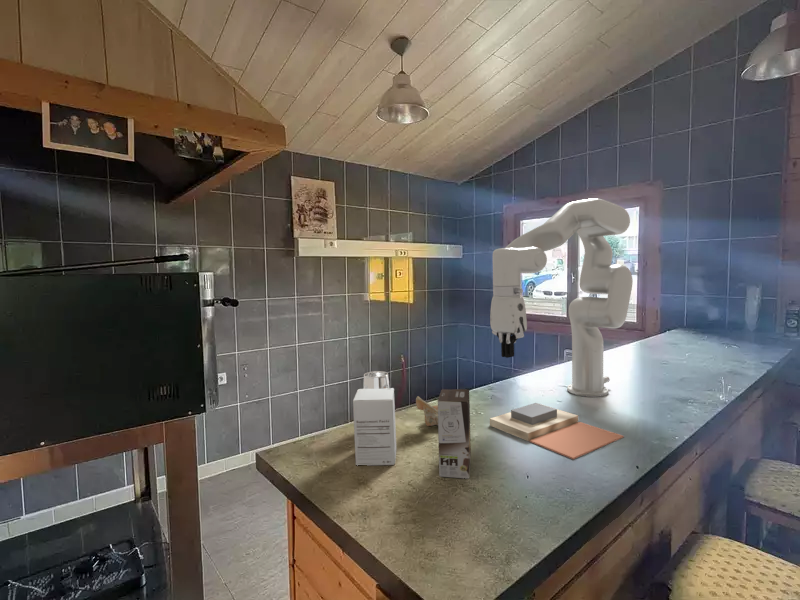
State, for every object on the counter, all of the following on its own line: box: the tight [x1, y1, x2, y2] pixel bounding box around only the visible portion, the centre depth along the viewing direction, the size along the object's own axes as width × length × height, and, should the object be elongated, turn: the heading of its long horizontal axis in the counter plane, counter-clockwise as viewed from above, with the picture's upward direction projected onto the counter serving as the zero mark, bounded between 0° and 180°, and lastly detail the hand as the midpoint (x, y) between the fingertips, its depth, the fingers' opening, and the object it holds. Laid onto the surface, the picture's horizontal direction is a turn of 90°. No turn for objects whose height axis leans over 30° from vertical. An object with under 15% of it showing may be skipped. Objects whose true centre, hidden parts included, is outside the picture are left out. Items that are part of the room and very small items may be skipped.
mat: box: [529, 421, 625, 460], centre depth 103 cm, size 20×12×1 cm, turn 123°
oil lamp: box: [415, 395, 438, 427], centre depth 118 cm, size 9×21×10 cm, turn 138°
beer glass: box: [363, 370, 390, 389], centre depth 114 cm, size 7×7×15 cm
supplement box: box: [352, 387, 397, 467], centre depth 97 cm, size 9×9×15 cm
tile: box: [510, 402, 558, 425], centre depth 114 cm, size 10×7×2 cm
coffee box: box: [437, 388, 472, 480], centre depth 90 cm, size 9×6×16 cm
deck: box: [489, 403, 579, 442], centre depth 114 cm, size 20×13×2 cm, turn 123°
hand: (507, 356), depth 120 cm, fingers closed
